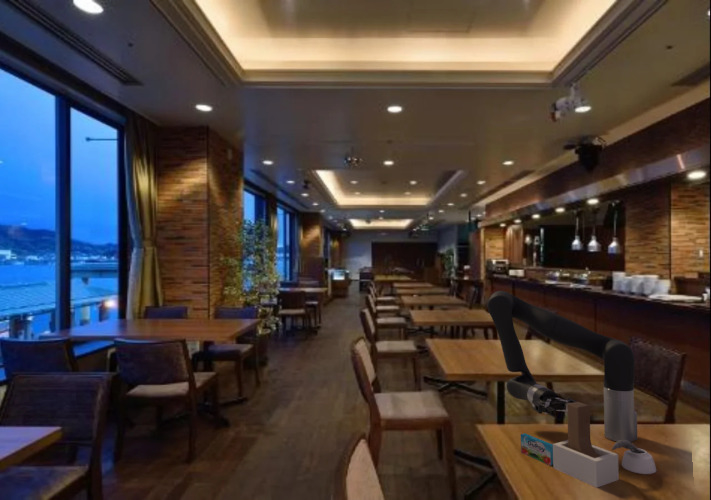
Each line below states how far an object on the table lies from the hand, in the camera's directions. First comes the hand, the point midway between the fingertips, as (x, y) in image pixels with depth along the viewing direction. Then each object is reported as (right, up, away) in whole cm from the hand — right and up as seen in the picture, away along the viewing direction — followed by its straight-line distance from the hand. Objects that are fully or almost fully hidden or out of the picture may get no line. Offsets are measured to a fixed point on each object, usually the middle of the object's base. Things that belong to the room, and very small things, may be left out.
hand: (568, 413), depth 156 cm
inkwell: (+15, -15, -8) cm, 23 cm away
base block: (+1, -15, -9) cm, 18 cm away
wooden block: (+1, -13, -9) cm, 16 cm away
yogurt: (-9, -15, +2) cm, 18 cm away
